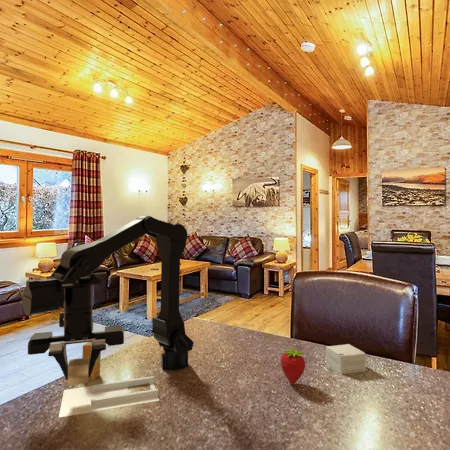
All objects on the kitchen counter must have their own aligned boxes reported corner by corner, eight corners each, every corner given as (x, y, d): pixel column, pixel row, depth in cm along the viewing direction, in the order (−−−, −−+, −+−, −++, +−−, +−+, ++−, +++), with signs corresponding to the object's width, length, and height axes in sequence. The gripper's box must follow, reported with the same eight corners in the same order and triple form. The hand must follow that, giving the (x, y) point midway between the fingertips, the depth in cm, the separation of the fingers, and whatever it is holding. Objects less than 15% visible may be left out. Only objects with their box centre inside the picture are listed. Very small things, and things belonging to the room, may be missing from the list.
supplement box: (93, 386, 86) (93, 346, 86) (81, 385, 87) (81, 345, 87) (101, 380, 90) (101, 341, 89) (89, 379, 90) (88, 340, 90)
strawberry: (298, 376, 92) (299, 338, 92) (309, 390, 85) (309, 349, 85) (276, 378, 91) (277, 339, 91) (285, 392, 84) (286, 350, 84)
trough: (151, 383, 88) (151, 372, 88) (159, 407, 77) (159, 395, 77) (64, 396, 82) (64, 384, 82) (58, 425, 70) (58, 411, 70)
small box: (349, 360, 103) (349, 343, 103) (366, 372, 96) (366, 353, 95) (325, 363, 101) (325, 345, 101) (340, 375, 94) (341, 356, 93)
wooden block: (88, 375, 79) (88, 357, 79) (88, 383, 76) (88, 364, 76) (69, 377, 78) (69, 359, 78) (67, 385, 74) (67, 366, 74)
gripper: (121, 295, 87) (121, 358, 88) (36, 301, 81) (36, 369, 81) (123, 306, 77) (124, 377, 77) (26, 314, 71) (27, 391, 71)
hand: (78, 378), depth 77 cm, fingers closed on wooden block, 4 cm apart
